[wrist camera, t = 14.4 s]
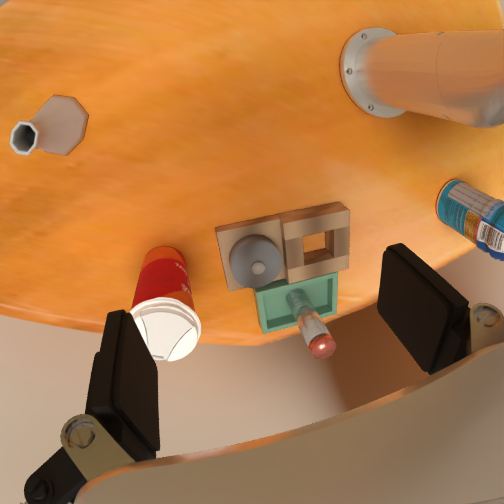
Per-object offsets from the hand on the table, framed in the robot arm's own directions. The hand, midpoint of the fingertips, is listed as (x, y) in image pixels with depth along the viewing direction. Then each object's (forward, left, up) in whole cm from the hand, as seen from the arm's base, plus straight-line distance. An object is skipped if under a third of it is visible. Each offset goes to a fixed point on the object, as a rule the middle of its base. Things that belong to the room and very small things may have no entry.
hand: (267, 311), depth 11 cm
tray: (-9, +23, -28) cm, 38 cm away
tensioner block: (-8, +14, -28) cm, 33 cm away
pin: (-9, +23, -28) cm, 37 cm away
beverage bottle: (-39, +13, -28) cm, 50 cm away
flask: (+16, -8, -29) cm, 34 cm away
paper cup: (+8, +13, -28) cm, 32 cm away
